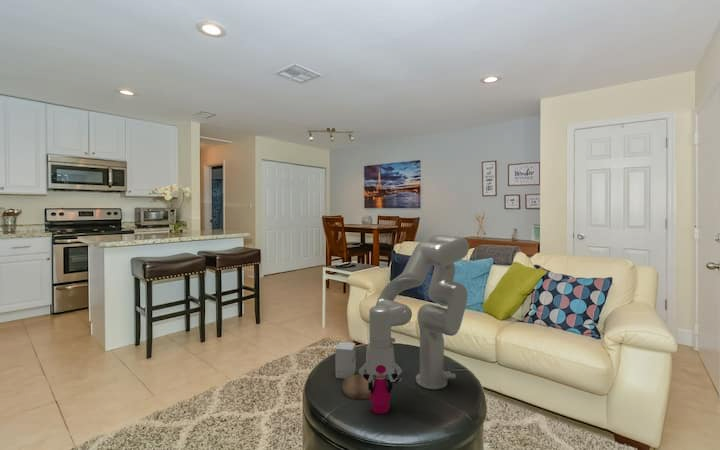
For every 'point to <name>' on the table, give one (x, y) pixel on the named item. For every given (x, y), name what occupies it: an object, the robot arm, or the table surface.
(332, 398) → the table surface
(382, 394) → the pepper mill
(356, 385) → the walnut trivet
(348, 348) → the supplement box
